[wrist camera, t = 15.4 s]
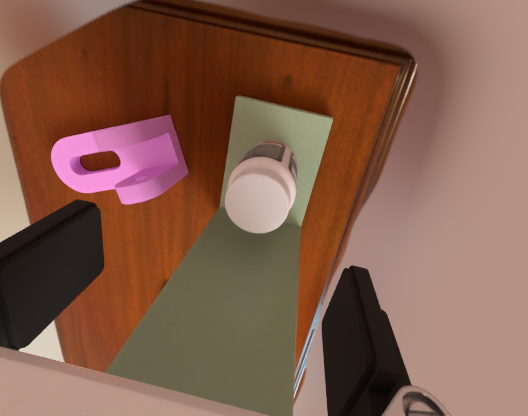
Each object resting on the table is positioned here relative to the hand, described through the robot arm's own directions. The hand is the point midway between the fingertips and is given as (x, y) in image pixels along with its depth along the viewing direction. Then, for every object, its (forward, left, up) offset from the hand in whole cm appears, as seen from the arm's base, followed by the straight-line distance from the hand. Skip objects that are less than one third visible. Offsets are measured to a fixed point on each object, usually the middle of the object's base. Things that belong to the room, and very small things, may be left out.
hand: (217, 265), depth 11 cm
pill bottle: (+1, 0, -15) cm, 15 cm away
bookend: (+1, -1, -17) cm, 17 cm away
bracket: (-8, -13, -17) cm, 23 cm away
